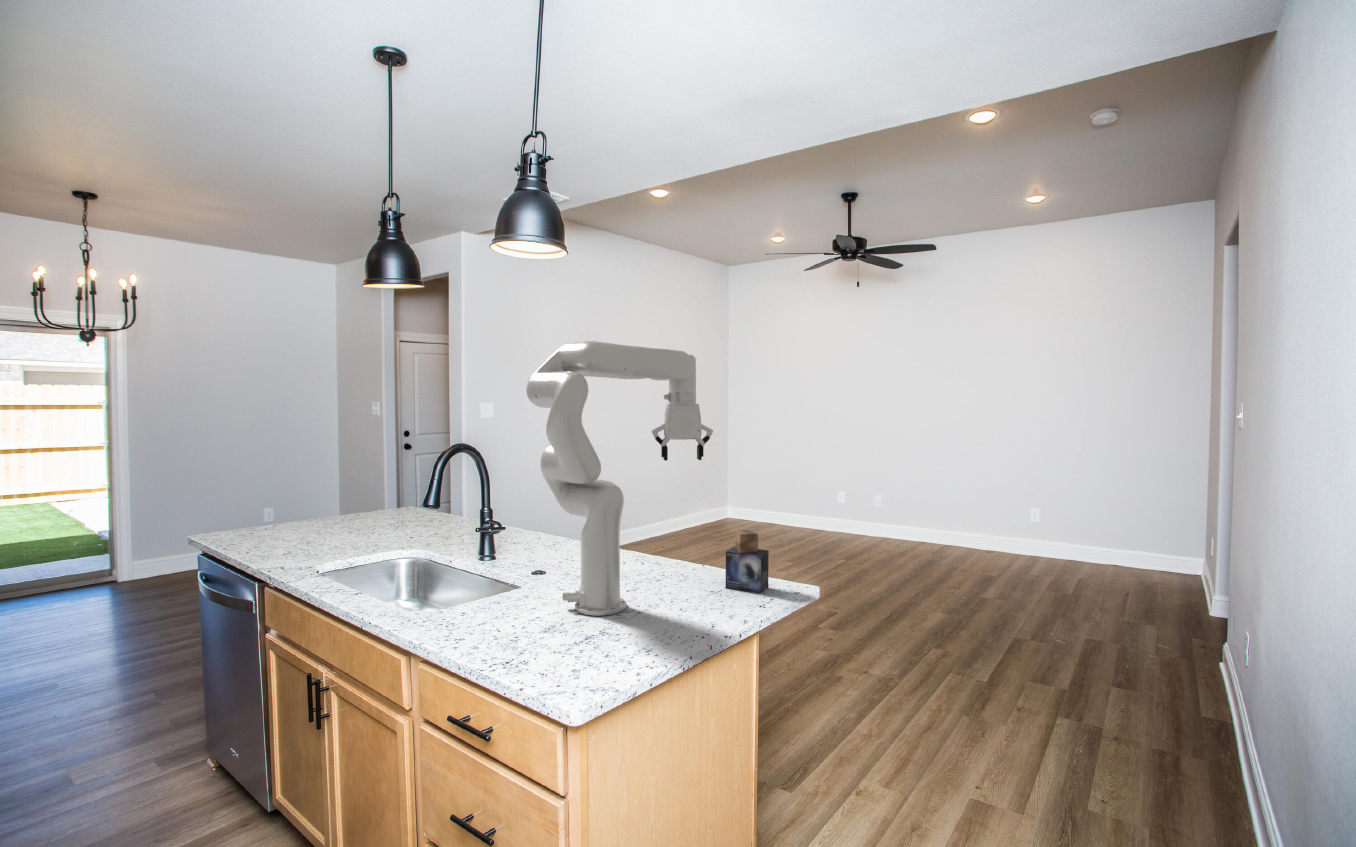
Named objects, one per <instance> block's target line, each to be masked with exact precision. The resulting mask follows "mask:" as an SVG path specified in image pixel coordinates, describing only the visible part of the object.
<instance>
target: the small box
mask: <svg viewBox="0 0 1356 847" xmlns="http://www.w3.org/2000/svg"><path fill="white" fill-rule="evenodd" d="M769 553H770V550H769V549H759V548H758V552H748V553H740V552H739V551H738V550H736V549H735V546H732V547H731V548H729V549H727V550H726V551H725V589H730V590H736V591H743V592H748V593H755V594H763V593H764V592H765V591H766V590H768V589H769V555H770V554H769Z"/></svg>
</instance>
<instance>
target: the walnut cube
mask: <svg viewBox="0 0 1356 847" xmlns="http://www.w3.org/2000/svg"><path fill="white" fill-rule="evenodd" d="M734 535H735V541H734V544H735V549H736V550H738V551H739V552H740V553H748V552H758V549H759V533H758V532H757V531H755V530H754V529H741V530H740V529H739V530H737V529H735V532H734Z"/></svg>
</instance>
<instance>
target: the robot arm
mask: <svg viewBox="0 0 1356 847" xmlns="http://www.w3.org/2000/svg"><path fill="white" fill-rule="evenodd" d="M586 377H594V378H605V379H606V378H609V379H619V380H621V379H622V380H644V379H650V380H653V381H668V393H667V394H663V400H666V401H668V403H666V407H665V413H664V423H663V424H661V425H659V426H657V427H656V428H654V429H652V430H651V434H652V436H653V437H654V439H655V441H656V442H657V443H658V444H659V446H661V449H660V450H661V452H660V453H661V455H660V456H661V458H663V461H668V459H669V458H668V457H669V456H668V455H669V454H668V451H669V450H668V446H667V444H668V443H669V442H670V440H675V441H676V440H683V441H684V440H685V441H686V440H695V441H696V442H697V446H696V459H697V460H699V461H702V458H703V457H704V446H706V443H707V442H709V440H711V437H712V435H713V433H714V430H713V429H712V428H710V427H708V426H706V425H704V424H702V416H701V408H700V404H699V403H697V358H696V357H695V355H693V354H688V353H687V352H685V351H684V350H683V351H682V350H675V349H667V348H654V347H653V348H652V347H647V346H638V345H636V346H635V345H625V344H617V343H610V342H609V343H608V342H602V341H591V340H590V341H589V340H588V341H586V340H585V341H577V342H569V343H565V344H563V345H562V346H561V347H560V348H558V349H557V350H556V351H554V353H552V354H551V355H550V356H549V357H548V358H547V359H546V361H544V362H543V363H542V365H540V367H538V368H537V370H535V371H534V373H533V374H532V375H531V376H530V377H529V379H528V381H527V385H526V391H525V392H526V396H527V398H528V400H529V401H530V402H531V403H532V404H533V405H535V406H536V407H539V408H543V409H544V408H546V409H547V408H550V410H549V413H548V417H547V421H546V425H545V426H546V427H545V432H546V437H547V440H548V442H549V444H550V445H549V446H547V447H546V448H545V449H544V450H543V452H542V454H541V457H540V470H541V474H542V477H544V480H545V482H546V483H547V485H548V487H549V489H550V490H551V492H552V494H553V496H554V498H555V500H557V502H558V505H559V506H560V507H561V508H562V509H563V511H565V512H566V513H568V514H570V515H574V516H578V517H585V518H586V521H585V524H584V525H583V528H582V531H581V534H580V587H579V590H575V591H574V592H570V591H569V592H567V591H566V592H562V601H567V603H574V610H575V611H576V612H578V613H580V614H582V615H585V616H595V617H597V616H600V617H601V616H610V615H615V614H618V613H621V612H623V611H624V610H625V609H626V608H627V601H626V600H625V599H624V598H622V597H621V585H620V582H621V578H620V577H621V573H620V572H621V570H620V569H621V568H620V567H621V565H620V564H621V562H620V561H621V560H620V559H621V557H620V556H621V555H620V552H621V550H620V549H621V548H620V547H621V546H620V545H621V544H620V540H621V539H620V538H621V537H620V536H621V535H620V534H621V521H622V520H621V519H622V514H623V510H624V502H625V500H624V499H625V498H624V494H623V490H621V487H620V486H618V485H617V484H616V483H614V482H612V481H610V480H609V481H608V480H604V479H598V478H599V477H600V475H601V472H602V465H601V461H600V458H599V456H598V454H597V453H596V450H595V448H594V446H593V445H592V443H591V441H590V438H589V436H588V434H587V432H586V431H585V428H584V426H583V420H582V419H583V413H584V412H583V411H584V408H585V404H586V402H587V399H588V396H589V385H588V384H589V383H588V380H587V379H586ZM662 431H663V435H664V437H663V438H661V437H660V436H659V432H662ZM702 431H705V432H706V434H705V436H704V437H702V433H703V432H702Z"/></svg>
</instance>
